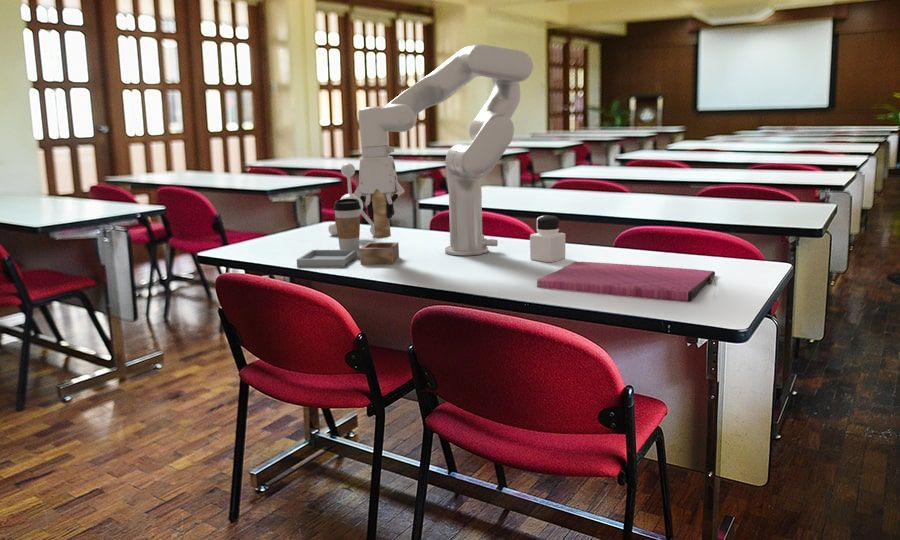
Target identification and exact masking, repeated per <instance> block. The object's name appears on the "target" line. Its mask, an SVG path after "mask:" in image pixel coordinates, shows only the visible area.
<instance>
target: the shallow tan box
mask: <svg viewBox="0 0 900 540" xmlns="http://www.w3.org/2000/svg"><path fill="white" fill-rule="evenodd" d="M399 244H400V243H399V241H398V242H396V241H395V242H391V241H390V242H387V241H386V242H384V241H383V242H382V241H381V242H380V241H379V242H378V241H377V242H371V241H370V242H369V241H368V242H367V243H365V244H364V245H363V246H361V247H359V256H360V257H359V258H360V259H359V260H360V265H394V264H395V263H396V262H397V260H399V259H400V250H399V249H400V247H399Z"/></svg>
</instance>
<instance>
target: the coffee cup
mask: <svg viewBox="0 0 900 540" xmlns="http://www.w3.org/2000/svg"><path fill="white" fill-rule="evenodd" d="M360 209H361V206H360V204H359V200H358V199H341V198H340V199H337V200H336V201H334V206H333V211H334V220H335V221H334V222H336V227H337V233H338V235H337V238H338V244H339V245H338V246H339V250H356V249H357V250H358V249H359V250H360V231H361V214H360Z"/></svg>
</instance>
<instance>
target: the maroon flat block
mask: <svg viewBox="0 0 900 540" xmlns="http://www.w3.org/2000/svg"><path fill="white" fill-rule="evenodd" d="M715 275H716V272H715V271H713V270H704V269H697V268H696V269H695V268H682V267H669V266H667V267H666V266H654V265H653V266H652V265H641V264H640V265H639V264H628V263H627V264H625V263H612V262H611V263H609V262H607V263H606V262H595V261H593V262H592V261H574V262H572V263H570V264H569V265H566V266H565V267H562V268H560V269H558V270H556V271H554V272H552V273H549V274H547V275H544V276H542V277H540V278H538V279H537V281H536V285H537V288H542V289H550V290H561V291H571V292H572V291H573V292H582V293H589V294H590V293H591V294H601V295H612V296H620V297H621V296H622V297H634V298H642V299H643V298H645V299H653V300H664V301H674V302H686V303H687V302H688V303H691V302H692V301H693V299H694V298H695V297H697V295H698V294H699V293H700V292H701V290H702V289H703V288H704V287H705V286H706V285H707V284H708V283H709V284H710V285H712V282H713V281H714V282H716V280H715V279H714V277H715ZM714 287H716V283H715V286H714ZM713 295H715V292H714V294H713Z"/></svg>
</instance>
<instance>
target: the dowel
mask: <svg viewBox="0 0 900 540" xmlns="http://www.w3.org/2000/svg"><path fill="white" fill-rule="evenodd" d="M371 197H372V208H373V219H372V220H373V223H374V230H375V236H374V237H375V238H376V239H385V238H390V237H392V234H391V223H390V219H388V217H387V204H388V201H387V197H386V194H383V193H380V191H379V190H378V189H376V190H375V192H374V193H373V194H371Z"/></svg>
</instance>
